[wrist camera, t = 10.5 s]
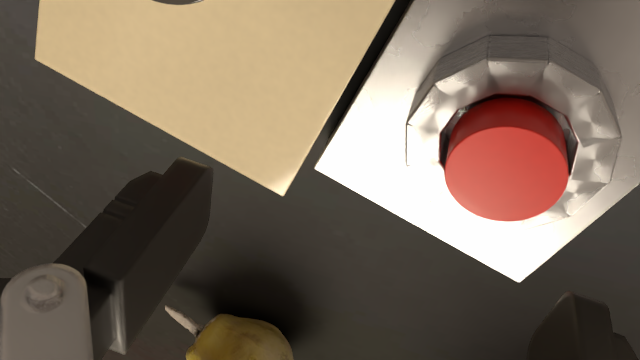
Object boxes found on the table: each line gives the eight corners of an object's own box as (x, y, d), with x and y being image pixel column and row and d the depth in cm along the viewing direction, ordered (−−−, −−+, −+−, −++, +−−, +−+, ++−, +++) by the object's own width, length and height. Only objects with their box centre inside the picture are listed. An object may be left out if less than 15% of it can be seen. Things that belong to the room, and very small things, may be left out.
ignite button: (491, 76, 17) (489, 104, 16) (591, 134, 17) (596, 166, 16) (429, 156, 19) (422, 186, 18) (517, 206, 19) (517, 239, 18)
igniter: (490, -135, 17) (483, -111, 14) (763, 30, 17) (814, 89, 14) (327, 140, 24) (299, 194, 21) (519, 248, 25) (519, 316, 22)
